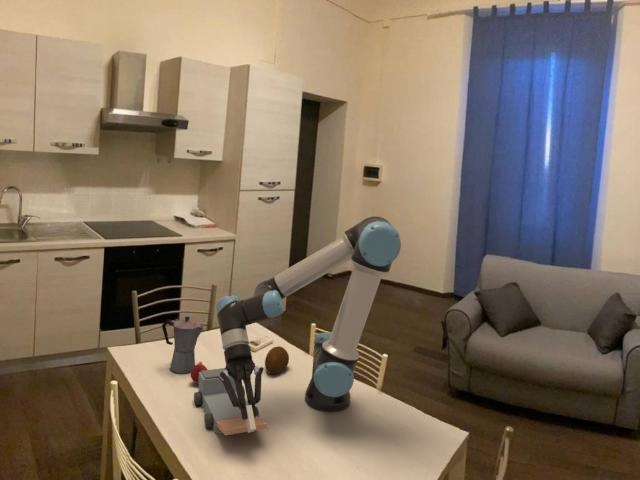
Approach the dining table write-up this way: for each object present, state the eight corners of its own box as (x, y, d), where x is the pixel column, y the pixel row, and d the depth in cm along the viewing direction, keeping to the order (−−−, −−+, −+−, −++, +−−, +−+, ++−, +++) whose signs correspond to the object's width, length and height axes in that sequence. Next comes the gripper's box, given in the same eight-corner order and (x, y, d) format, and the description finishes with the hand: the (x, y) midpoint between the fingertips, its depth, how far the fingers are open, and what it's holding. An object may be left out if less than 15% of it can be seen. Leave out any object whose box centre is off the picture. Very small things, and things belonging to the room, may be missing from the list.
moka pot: (199, 376, 189) (201, 322, 185) (156, 372, 189) (157, 318, 185) (205, 365, 198) (208, 313, 194) (164, 361, 198) (165, 310, 195)
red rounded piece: (203, 388, 180) (204, 366, 178) (187, 386, 181) (188, 364, 180) (210, 381, 186) (211, 360, 184) (194, 378, 187) (195, 357, 185)
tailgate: (215, 421, 153) (225, 430, 144) (255, 414, 158) (267, 423, 149) (215, 427, 153) (225, 437, 144) (255, 420, 158) (267, 429, 149)
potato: (255, 372, 196) (256, 349, 194) (275, 362, 206) (276, 340, 204) (273, 379, 191) (275, 356, 190) (293, 368, 201) (294, 346, 200)
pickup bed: (192, 398, 173) (193, 371, 171) (239, 392, 179) (240, 365, 178) (208, 434, 153) (210, 403, 152) (260, 425, 160) (262, 395, 158)
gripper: (254, 350, 160) (270, 430, 148) (211, 355, 154) (225, 438, 142) (261, 340, 154) (279, 422, 143) (217, 344, 148) (231, 431, 137)
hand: (252, 430), depth 143 cm, fingers closed
